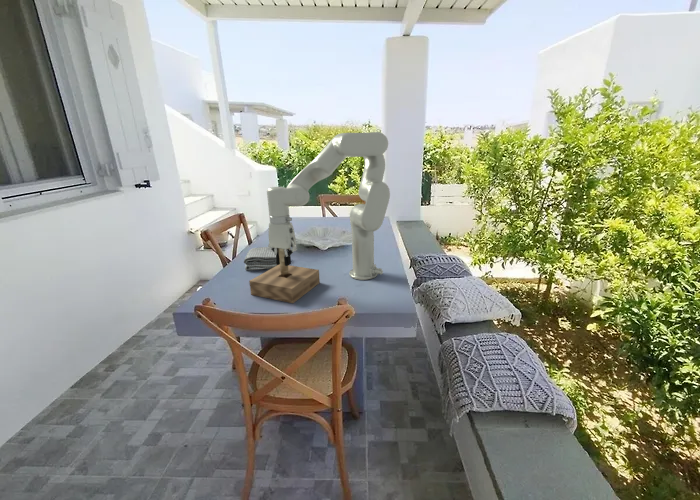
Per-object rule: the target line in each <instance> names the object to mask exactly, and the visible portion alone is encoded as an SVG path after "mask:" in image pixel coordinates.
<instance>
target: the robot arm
mask: <svg viewBox="0 0 700 500" xmlns="http://www.w3.org/2000/svg"><path fill="white" fill-rule="evenodd" d="M388 148H389V141H388V137H387V136H386V135H385V134H384V133H382V132H379V131H375V132H374V131H373V132H372V131H370V132H341V133H337V134H336V135H335V136H333V138H332V139H331V140H330V141H328V143H327V144H326V145H325V147H324V148H323V149H322V150H321V151H320V152H319V153H318V155H317V156H315V158H314V159H313V160H312V161H310V162H309V163H308V164H307V165H306V166H305V167H304V168H303V169H301V171H300V172H299V173H298V174H296V176H295V177H294V178H293V179H292V180H291V181H290V182H289V184H288V185H286V187H284V186H272V187H268V189H267V191H266V196H267V207H268V208H267V209H268V215H269V216H268V217H269V223H268V234H267V235H268V245H267V247H269V248H270V249H272V251H273V252H274V254H275V255H276V260H277V265H279V264H280V260H279V250H278V248H280V249H284V252H285V257H284V261H285V266H288V265H290V266H291V264H292V258H291V256H292V254H293V253H294V252H296V251H297V250H298V247H297V241H296V234H295V230H294V229H295V228H294V225H293V223H292V221H293V218H292V217H291V216H290V208H289V206H291V207H302V206H305V205H306V204H308V202H309V201H310V198H311V197H310V193H309V190H311V188H312V187H313V186H314V185H315V184H317V183H318V182H320V181H323V180H324V179H326V178H328V177H330V176H331V175H332V174H333V173H334V172H335V170H336V169H337V168H338V167H339V166H340V165H341V163H343V162H344V160H345V159H346V158H347V157H349V158H350V157H351V158H353V157H354V158H360V157H362V158H363V160H364V167H363V172H362V176H361V180H360V183H359V187H358V196H359V198H360V199H361V200H362V201H363V202H365V204H364V203H359V204H356V205H354V206H353V207H352V208H351V210H350V213H349V221H350V229H351V249H352V251H351V252H352V253H351V254H352V255H351V257H352V269H351V270H350V271H349V273H348V274H349V277H350V278H351V279H355V280H360V281H365V280H366V281H368V280H372V279H375V278H376V277H377V276H378V275H383V273H384V270H383V268H379V267H377V264H375V255H374V254H375V246H374V245H375V234H374V232H376V231H377V230H379V229H380V228H381V227H382V225H383V223H384V220H385V217H386V212H387V209H388V205H389V202H390V197H391V191H390V188H389V186H388V185H387V183H386V182H384V181H383V180H384V177H385V176H384V175H385V171H386V159H385V156H384V154H385V152H386V151H387V150H388Z"/></svg>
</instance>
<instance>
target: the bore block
mask: <svg viewBox="0 0 700 500" xmlns="http://www.w3.org/2000/svg"><path fill="white" fill-rule="evenodd" d="M288 269H289V273H288V274H281V271H280V264H279V265H277V266H275V267H274V268H270V269H267V270H266V271H264V272H263V273H261V274H259V275H257V276H255V277H254V278H251V279H250V280H249V282H248V283H249V288H250V296H255V297H261V298H266V299H271V300H275V301H280V302H284V303H290V304H294V303H296V302H297V301H298V300H300V299H301V298H302V297H304V295H306V294H307V293H309V292H310V291H311V290H313V289H314V288H315V287H316V286H318V285H320V282H321V281H320V280H321V279H320V269H316V268H310V267H309V268H308V267H303V266H296V265H291V264H290V265H288Z"/></svg>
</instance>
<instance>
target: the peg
mask: <svg viewBox="0 0 700 500" xmlns="http://www.w3.org/2000/svg"><path fill="white" fill-rule="evenodd" d="M278 250H279V260H280V271H281V274H288V273H289V269H288V266H285V261H284V257H285V252H284V249H280V248H278Z"/></svg>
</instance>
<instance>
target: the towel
mask: <svg viewBox="0 0 700 500" xmlns="http://www.w3.org/2000/svg"><path fill="white" fill-rule="evenodd" d="M243 263H244V264H245V266H244V267H245V268H244V270H245V271H259V270H270V269H272V268H274V267H275V266H277V260H276V255H275V254H274V252H273V251H272V249H270V248H269V247H268V246H263V247H261V246H260V247H252V248H251V249H249V250H248V251H247V253H246V256H245V257H244V260H243Z"/></svg>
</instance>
